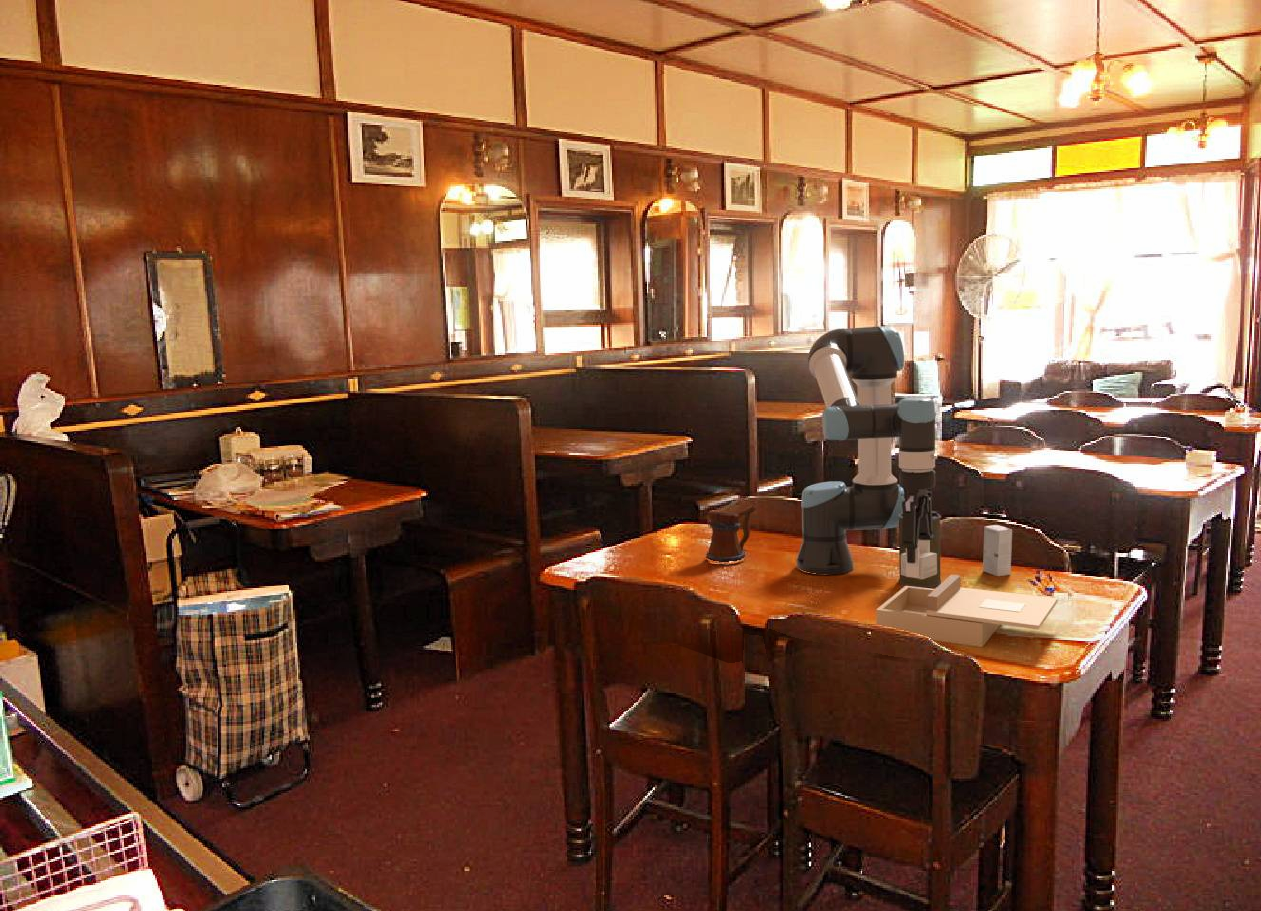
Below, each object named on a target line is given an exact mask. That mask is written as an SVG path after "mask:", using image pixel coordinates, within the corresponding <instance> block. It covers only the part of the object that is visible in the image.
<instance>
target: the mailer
mask: <svg viewBox="0 0 1261 911" xmlns="http://www.w3.org/2000/svg"><path fill="white" fill-rule="evenodd" d="M934 589H935V588H921V587H912V586H903V587H902V588H900V590H899V591H897V592H896V593H894V595H893V596H891V597H890V598H888V599H887V600H886V601H885V602H884V603H883V604H881V605H880V606H879V607H877V609H876V610H875V612H876V613H875V614H876V615H875V616H876V618H875V620H876V624H877V625H882V626H887V627H892V628H896V629H899V630H904V631H909V632H913V633H917V634H920V635H923V636H927V637H929V638H931V639H933V640H932V641H935V642H936V641H938V642H943V643H949V644H956V645H957V644H958V645H965V646H970V647H971V646H972V647H976V648H977V647H978V648H983V647H984V646H985V644H986V643H987V642H988V641H989V639H990V638H991V637H992V635H993V634H994V633H995V632H996V631H997V629H998V628H999V627H1000V626H1001V625H1000V624H993V623H985V622H977V621H970V620H962V619H955V618H947V617H939V616H932V615H926V611H927V596H928V595H929V594H930V593H931V592H932V591H933V590H934ZM876 624H875V625H876Z"/></svg>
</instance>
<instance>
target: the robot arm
mask: <svg viewBox="0 0 1261 911" xmlns="http://www.w3.org/2000/svg"><path fill="white" fill-rule="evenodd" d="M899 333H900V332H898V330H897V329H896V328H895V327H892V326H880V325H878V326H866V327H865V326H864V327H863V326H862V327H850V328H836V329H835V328H834V329H832V330H830V331H827V332H825V333H824V334H823V335H821V336H820V337H819V338H817V339H816V340H815V341H814V343H813V344H812V346H811V347H810V349H809V352H808V356H807V366H808V369H809V372H810V374H811V375H812V376H813V378H815V379H816V381H817V384H818V387H819V390H820V393H821V397H822V399H823V402H824V405H825V408H824V409H823V410H822V412H821V427H822V434H823V438H825V439H827V440H828V441H834V440H836V441H845V440H857V441H858V442H857V449H858V450H857V454H858V455H857V456H858V457H857V460H858V462H857V464H858V468H857V470H858V473H857V475H855V477H854V478H853V479H852V486H846V484H845V482H843V481H840V480H839V481H837V480H836V481H835V480H834V481H833V480H832V481H823V482H818V483H814V484H811V485H809V486H806V487H805V488H804V489H803V490H802V492H801V503H800V508H801V523H802V524H801V528H802V529H801V530H802V531H801V532H802V534H801V535H802V542H801V545H800V548H799V552H798V555H797V557H796V558H797V559H796V568H797V567H798V568H799V569H801V570H803V571H806V572H810V573H816V574H827V575H826V576H834V574H837V575H841V574H842V573H843V574H847V573H850V572H851V571H853V570H854V559H853V557H852V554H851V550H850V548H849V547H850V546H849V544H848V542H847V531H855V530H857V531H859V530H881V531H882V530H884V529H885V530H886V529H893V528H896V527H899V518H898V515H899V514H901V513H903V523H902V544H901V547H902V548H906V577H914V578H919V550H921V551H926V552H930V540H928V539H931V540H933V539H934V536H933V535H932V534H933V526H932V511H933V506H932V503H933V502H932V501H933V500H932V499H933V492H932V491H928V490H931V489H933V488H935V487H936V471H935V470H934V468H936V460H937V459H938V455H937V454H936V416H937V415H936V414H937V413H936V408H935V407H936V406H935V400H934V399H932V398H930V397H905V398H901V399H900V400H899V401H898V402H895V403H894V404H893V403H892V384H893V383H894V382H895V381H896V380H897V378H898V372H900V371H903V369H904V366H905V353H904V351H905V350H904V347H903V342H902V339H901V338H902V337H901V336H900V334H899ZM849 374H851V378H850V375H849ZM852 381H853V382H854V383H855V384H856V386H857V393H856V391H855V389H854V386H853V384H852ZM892 438H898V468H899V469H900V471H899V472H898V477H899V478H896V476H894V475H893V473H892ZM898 481H899V482H898ZM904 489H905V490H906V491H907V494H906V497H905V490H904ZM918 538H919V539H918ZM909 541H910V542H909ZM852 569H853V570H852ZM849 571H850V572H849ZM846 572H847V573H846ZM832 574H833V575H832Z"/></svg>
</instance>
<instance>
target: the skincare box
mask: <svg viewBox="0 0 1261 911" xmlns="http://www.w3.org/2000/svg"><path fill="white" fill-rule="evenodd" d="M983 532H984V533H983V557H982V558H983V559H982V561H983V562H982V571H983V572H985V573H987V574H990V575H992V576H995V577H1005V576H1010V575H1011V571H1012V570H1011V567H1012V566H1011V565H1012V564H1011V563H1012V546H1013V545H1012V541H1013V529H1012V528H1008V527H1005V526H1002V525H998V524H994V525H992V524H991V525H987V526H984V530H983Z"/></svg>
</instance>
